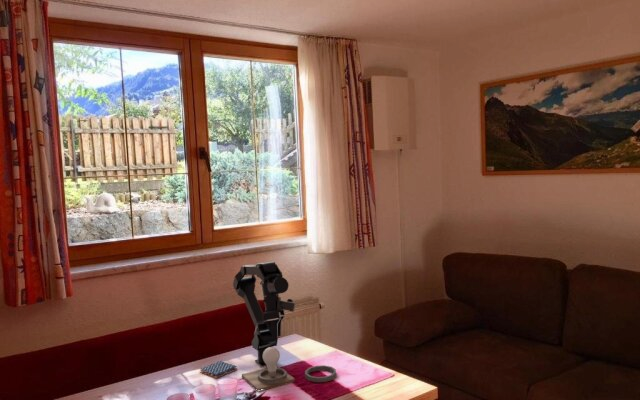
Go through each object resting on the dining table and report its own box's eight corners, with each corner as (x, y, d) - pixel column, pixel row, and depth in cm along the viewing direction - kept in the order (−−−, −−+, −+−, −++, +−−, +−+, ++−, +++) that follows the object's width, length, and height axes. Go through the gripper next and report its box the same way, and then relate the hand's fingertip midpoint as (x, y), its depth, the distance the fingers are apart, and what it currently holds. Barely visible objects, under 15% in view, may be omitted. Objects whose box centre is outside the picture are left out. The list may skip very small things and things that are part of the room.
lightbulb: (284, 377, 177) (282, 347, 176) (270, 383, 173) (268, 352, 172) (274, 372, 181) (273, 343, 180) (260, 377, 178) (258, 347, 177)
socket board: (241, 377, 181) (241, 370, 181) (276, 368, 188) (276, 361, 188) (258, 391, 168) (257, 384, 168) (294, 381, 175) (294, 374, 175)
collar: (299, 374, 182) (299, 370, 181) (325, 367, 187) (325, 363, 187) (314, 384, 172) (314, 380, 172) (341, 377, 178) (341, 372, 177)
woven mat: (221, 364, 196) (220, 359, 196) (238, 370, 189) (238, 365, 189) (198, 373, 188) (198, 368, 188) (216, 380, 181) (215, 374, 181)
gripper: (289, 291, 177) (296, 336, 174) (294, 291, 195) (301, 331, 193) (258, 297, 177) (265, 342, 175) (266, 296, 196) (273, 336, 193)
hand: (277, 337), depth 184 cm, fingers open, 9 cm apart
